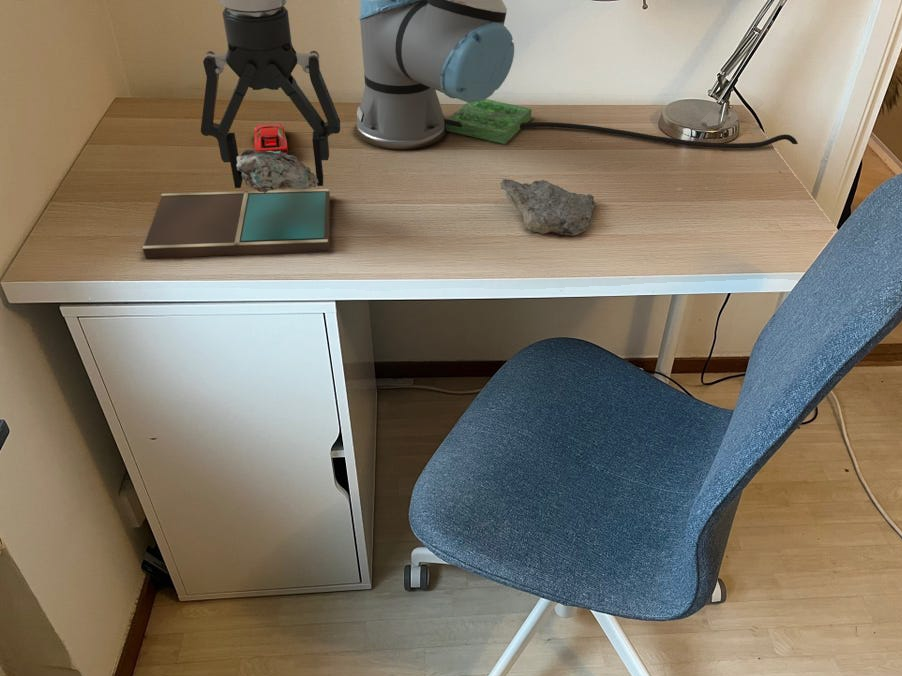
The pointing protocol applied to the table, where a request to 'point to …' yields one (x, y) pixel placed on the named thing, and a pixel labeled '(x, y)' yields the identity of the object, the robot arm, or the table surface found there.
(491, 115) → the marbled green block
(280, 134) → the toy car
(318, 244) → the board
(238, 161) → the mineral specimen
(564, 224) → the rock
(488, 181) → the table surface
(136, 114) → the table surface
